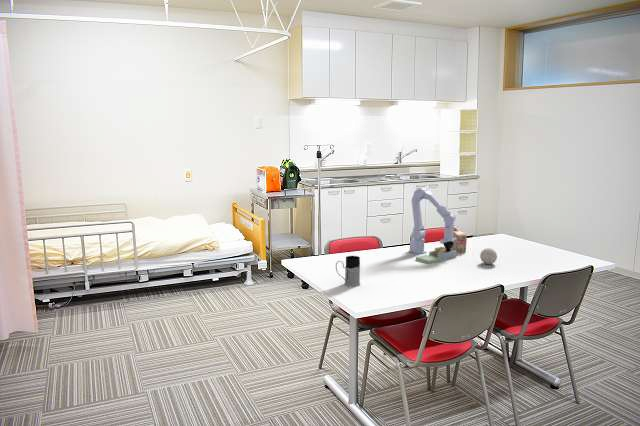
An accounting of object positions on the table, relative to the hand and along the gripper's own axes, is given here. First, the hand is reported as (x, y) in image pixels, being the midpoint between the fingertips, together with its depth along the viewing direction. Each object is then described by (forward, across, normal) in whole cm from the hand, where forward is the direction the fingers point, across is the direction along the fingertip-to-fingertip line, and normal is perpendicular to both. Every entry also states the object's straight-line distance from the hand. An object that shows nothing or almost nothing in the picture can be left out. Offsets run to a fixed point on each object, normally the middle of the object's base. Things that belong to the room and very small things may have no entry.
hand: (447, 252), depth 341 cm
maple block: (+1, -7, 0) cm, 7 cm away
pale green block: (+3, -10, 0) cm, 10 cm away
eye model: (+3, +8, -26) cm, 27 cm away
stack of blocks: (+3, +23, +11) cm, 26 cm away
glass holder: (+3, -91, -9) cm, 92 cm away
